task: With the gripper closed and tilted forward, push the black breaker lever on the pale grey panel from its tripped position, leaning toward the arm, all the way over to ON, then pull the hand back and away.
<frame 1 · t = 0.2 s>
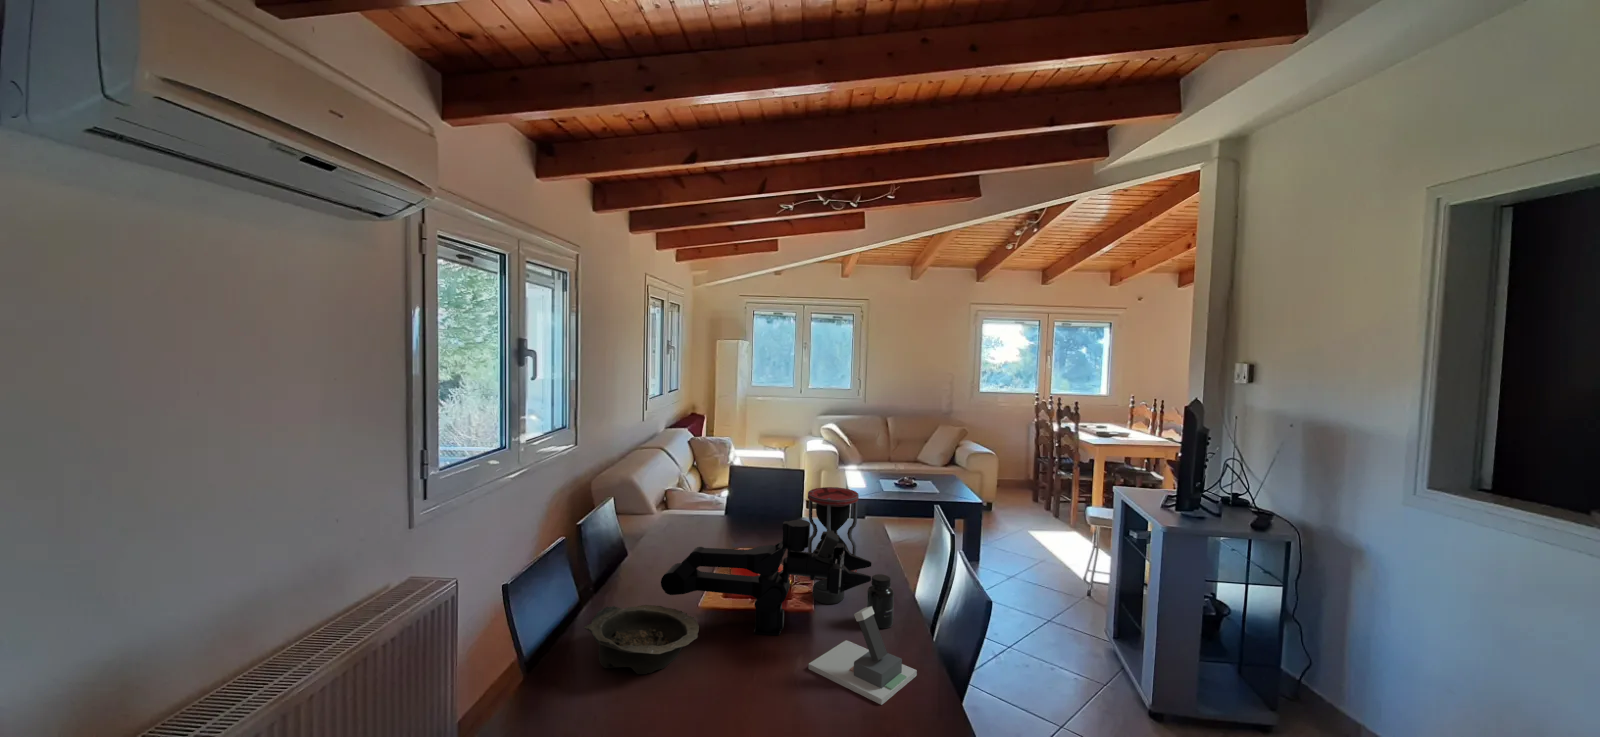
hand: (871, 571, 142), 17 cm above the table, tool horizontal, fingers open, 9 cm apart
hourglass: (831, 571, 184), on the table
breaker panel: (879, 680, 124), on the table
stone bowl: (645, 656, 133), on the table
supplement bottle: (879, 623, 150), on the table
smart speaker: (828, 599, 165), on the table
breaker lever: (871, 633, 126), point 9 cm above the table, hinge at -28.0°
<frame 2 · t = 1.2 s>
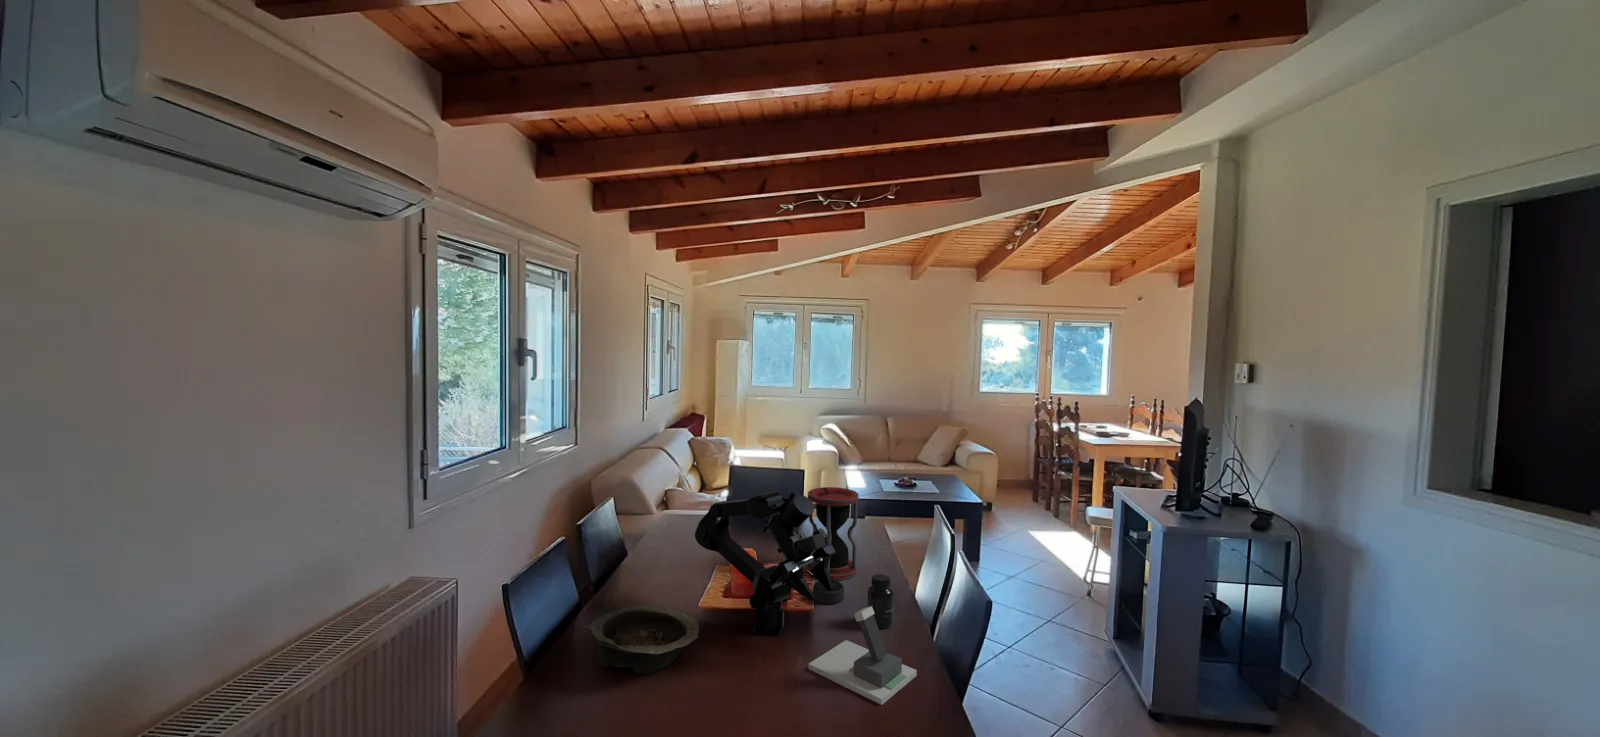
hand: (822, 595, 134), 14 cm above the table, tool tilted 45°, fingers open, 6 cm apart
nothing on the table moved.
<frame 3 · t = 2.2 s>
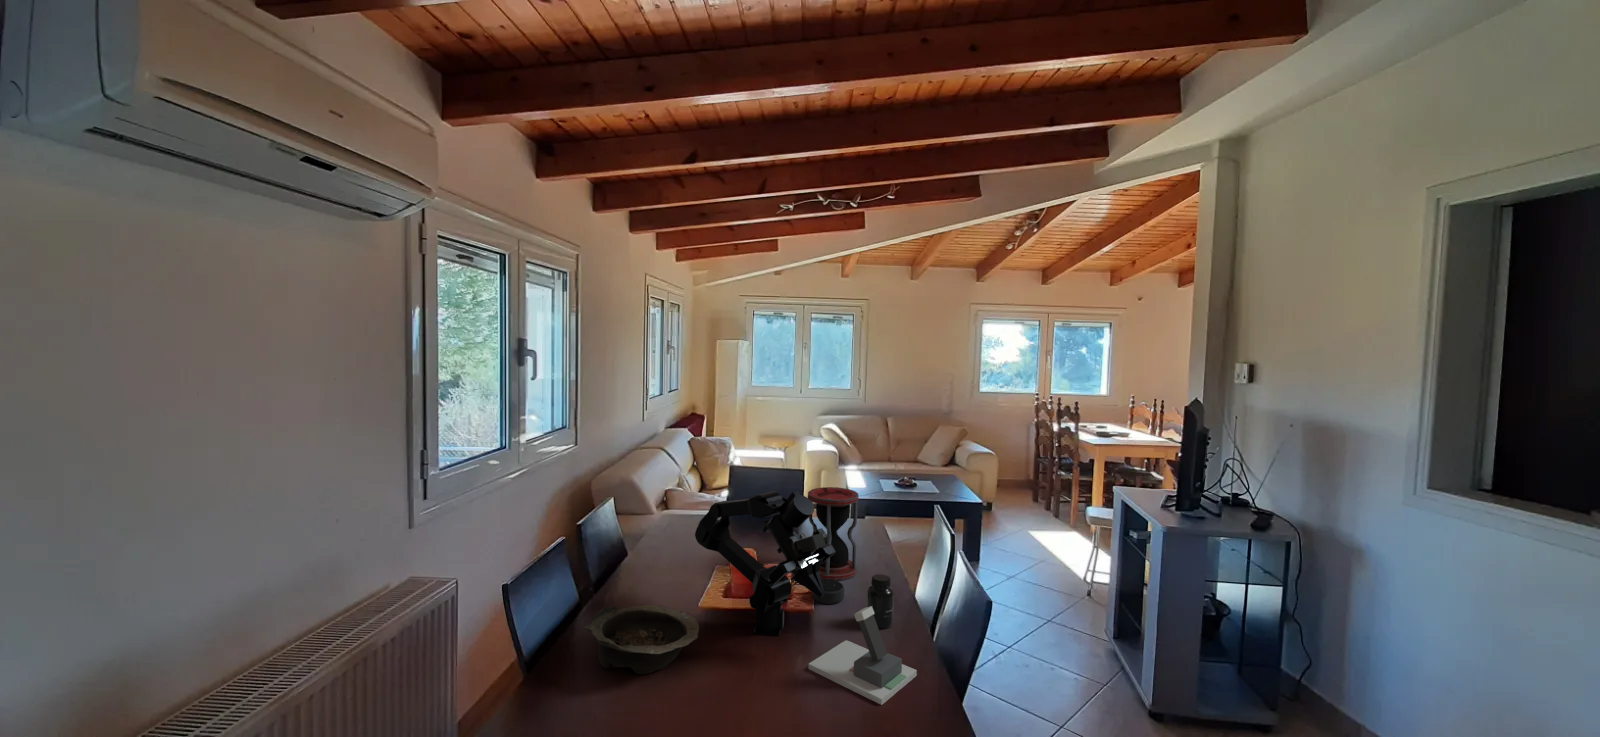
hand: (822, 595, 134), 14 cm above the table, tool tilted 45°, fingers closed
nothing on the table moved.
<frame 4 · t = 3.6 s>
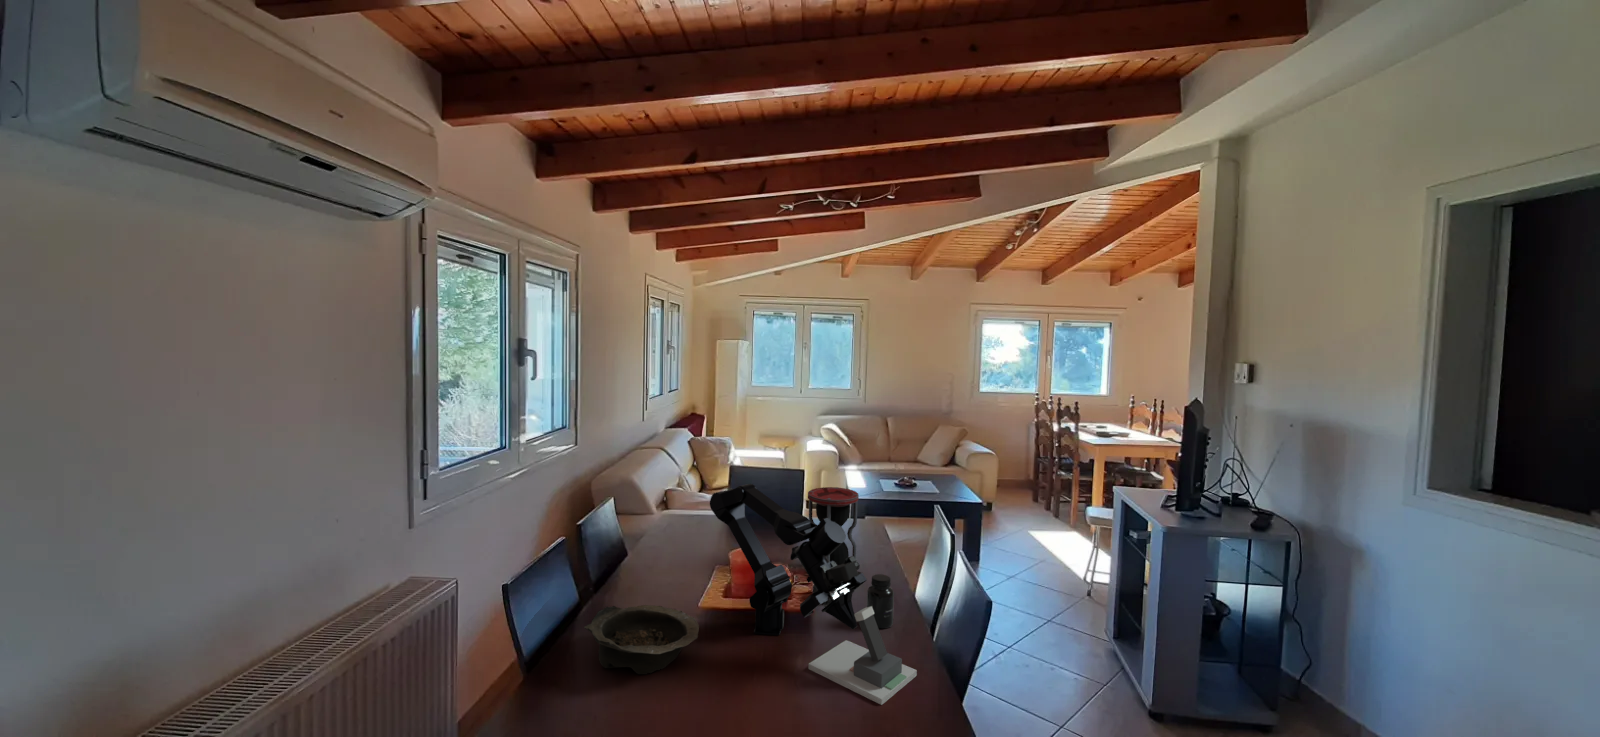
hand: (855, 628, 128), 9 cm above the table, tool tilted 45°, fingers closed
nothing on the table moved.
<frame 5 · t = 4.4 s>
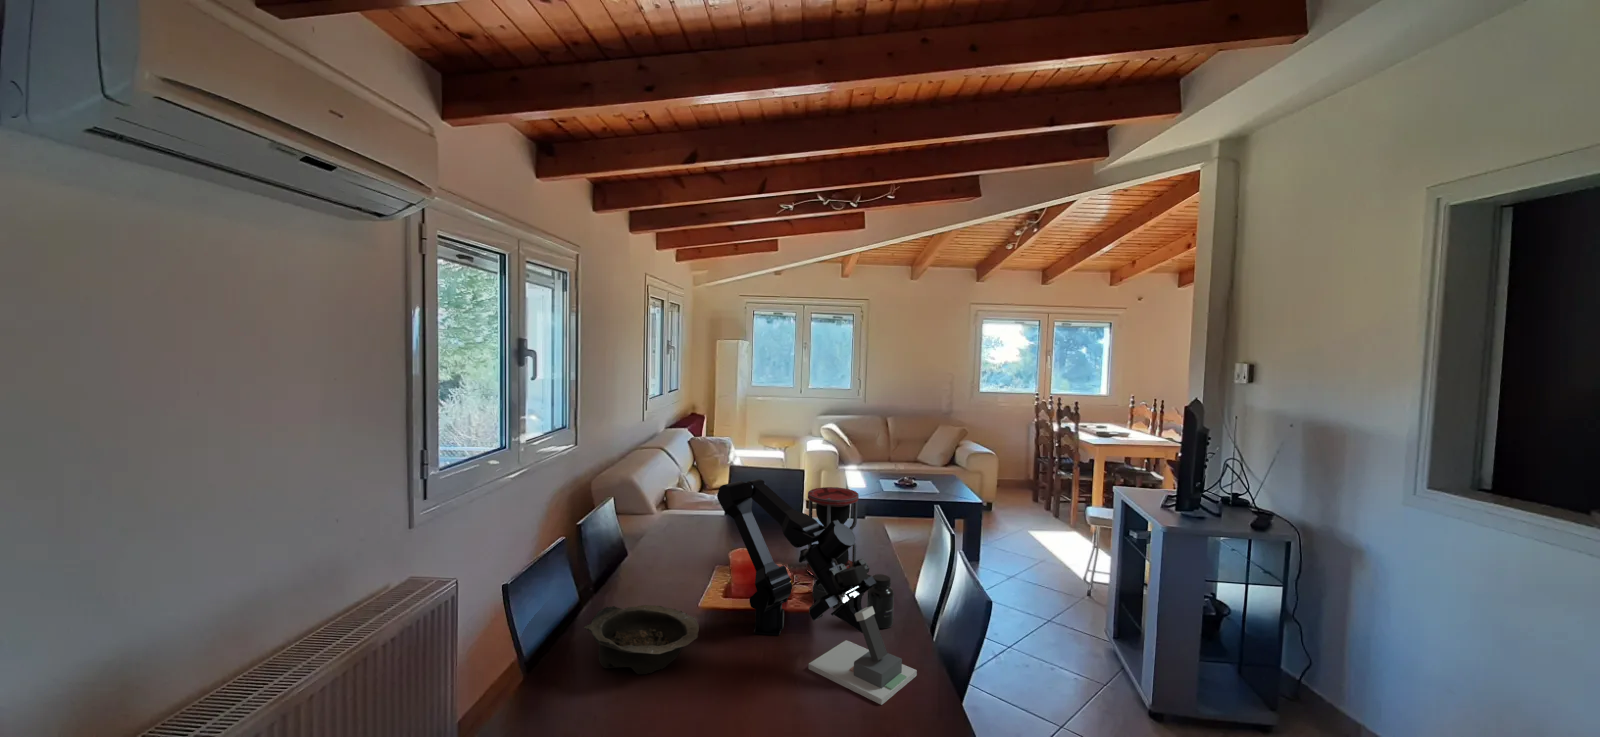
hand: (865, 631, 127), 9 cm above the table, tool tilted 45°, fingers closed, pressing on breaker lever
breaker lever: (871, 633, 126), point 9 cm above the table, hinge at -27.1°, touching gripper
everything else where it was.
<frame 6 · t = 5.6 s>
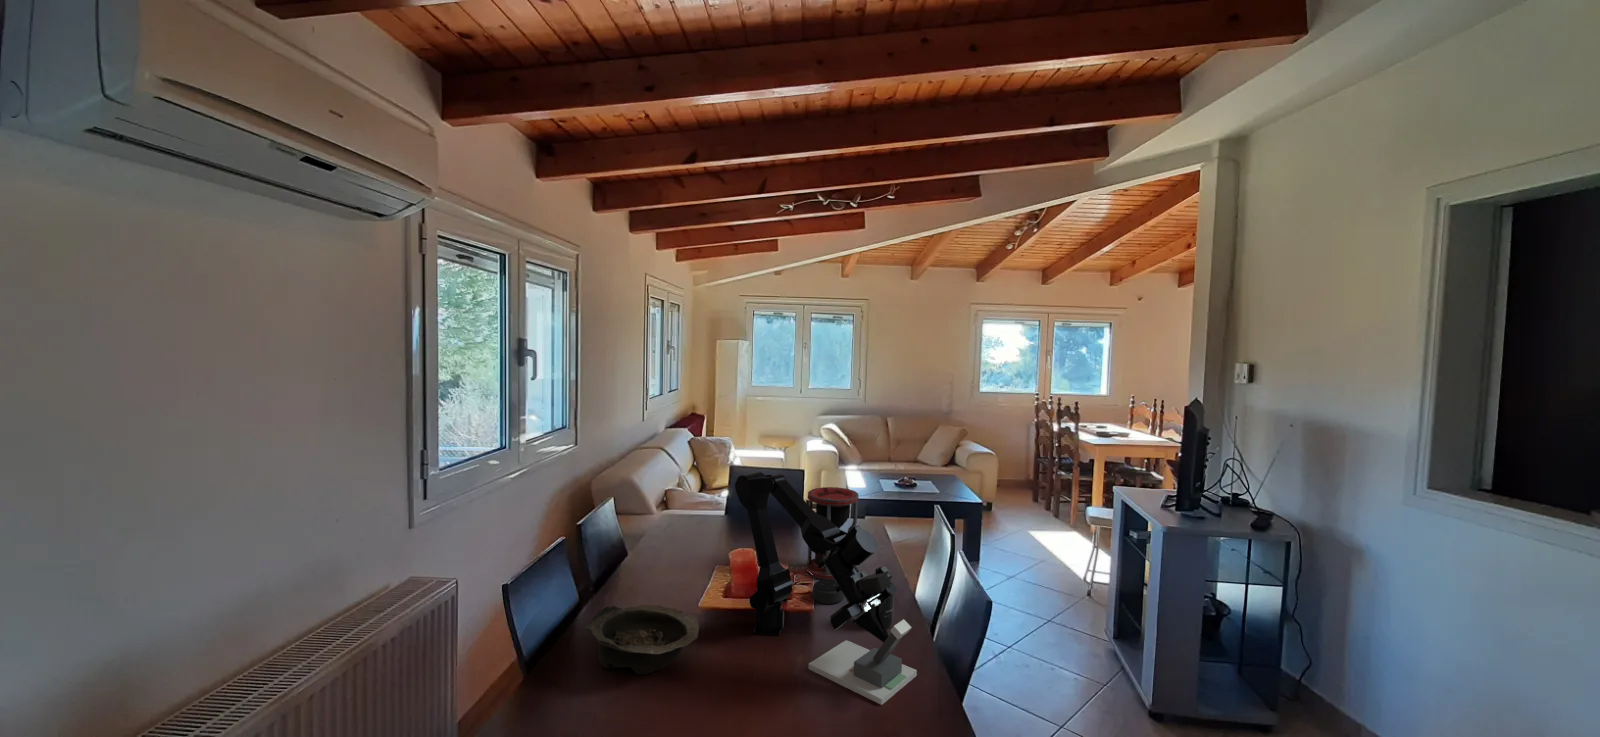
hand: (887, 641, 123), 9 cm above the table, tool tilted 45°, fingers closed, pressing on breaker lever
breaker lever: (891, 642, 122), point 9 cm above the table, hinge at 31.9°, touching gripper
everything else where it was.
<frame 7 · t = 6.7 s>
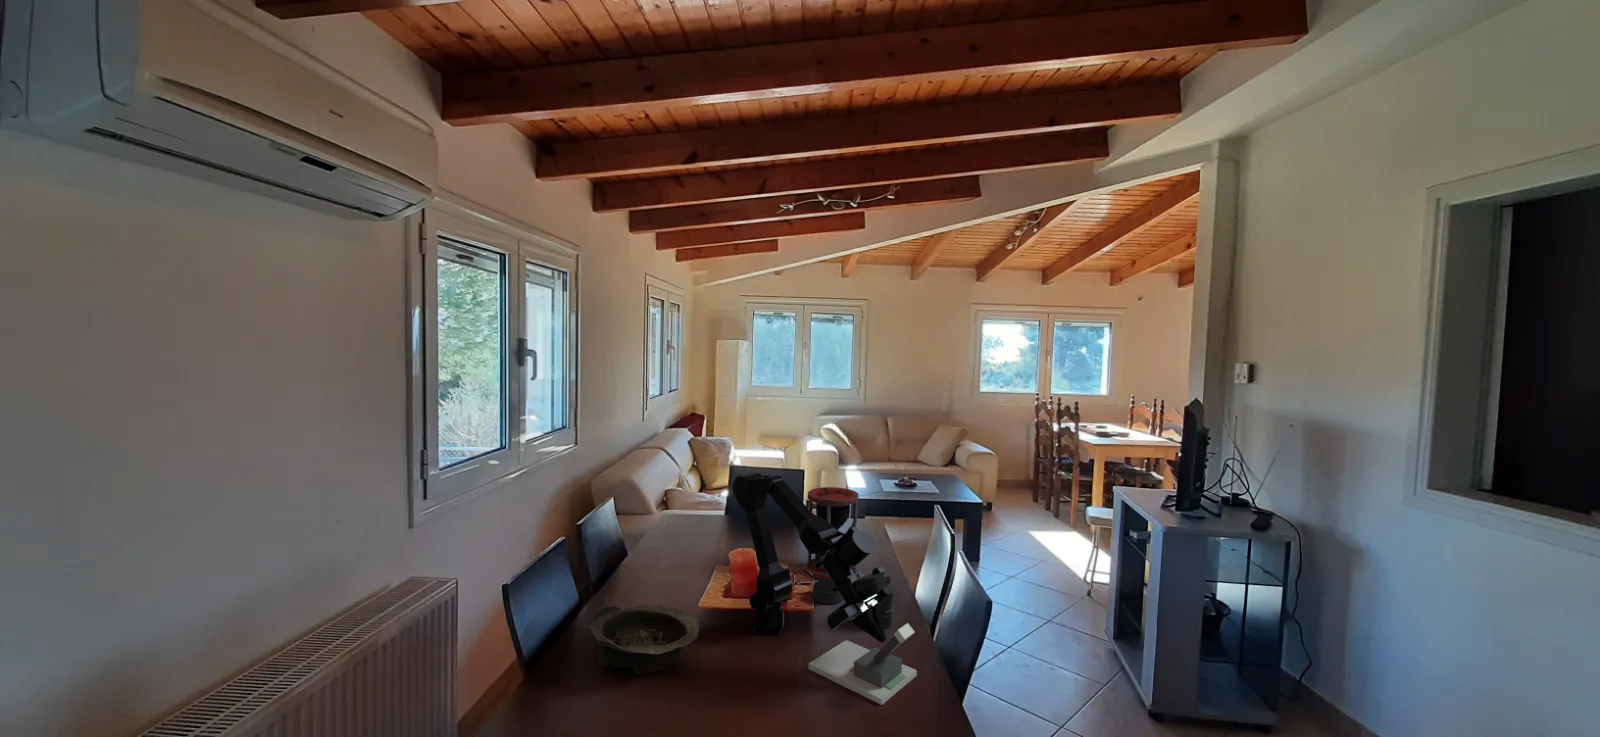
hand: (884, 641, 124), 9 cm above the table, tool tilted 45°, fingers closed
breaker lever: (893, 644, 122), point 9 cm above the table, hinge at 38.0°
everything else where it was.
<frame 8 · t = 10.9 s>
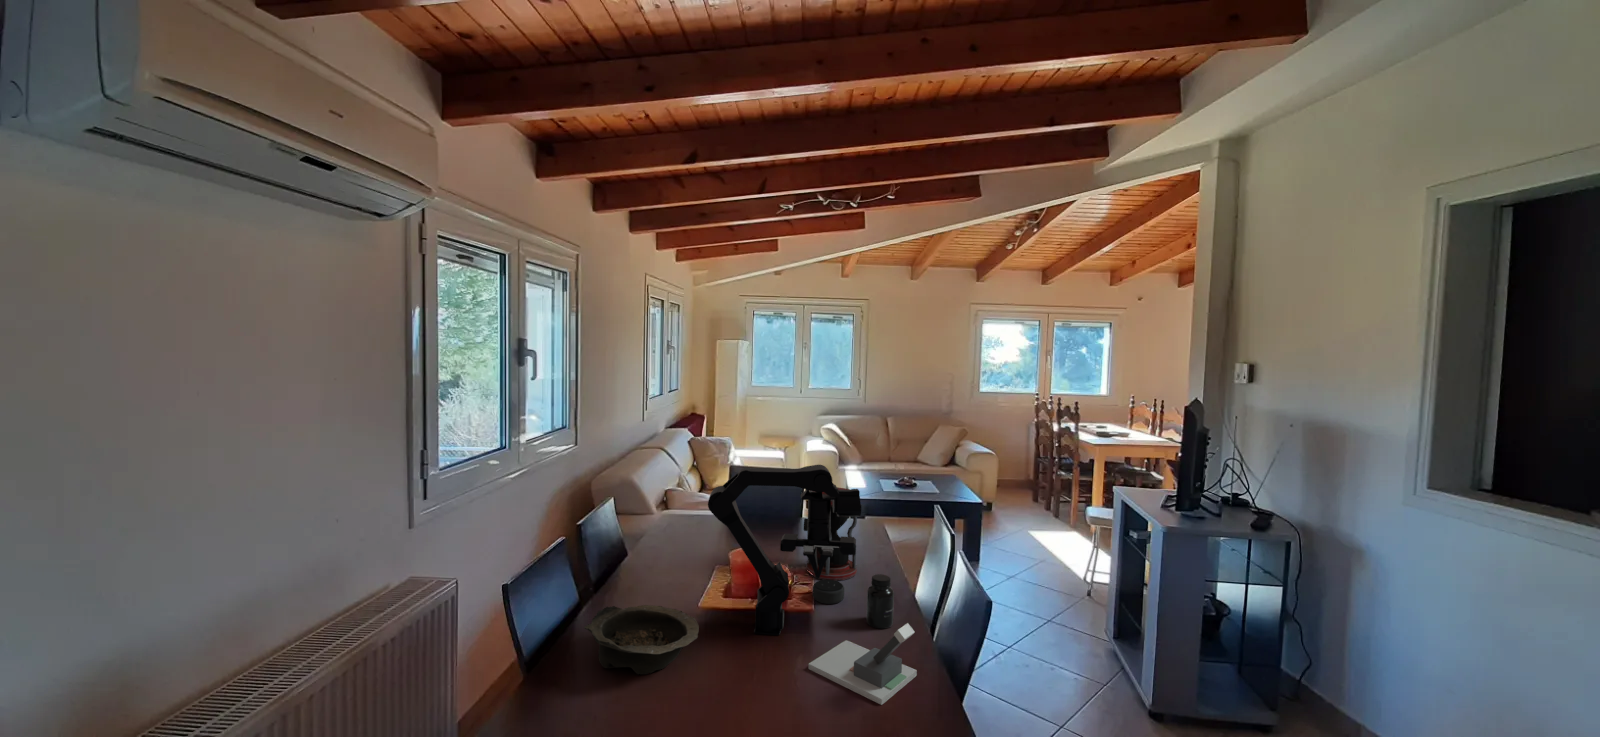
hand: (817, 577, 146), 13 cm above the table, tool pointing down, fingers closed
nothing on the table moved.
at the end: breaker lever at +38° (first picture: -28°); supplement bottle moved 0.2 cm from its start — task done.
